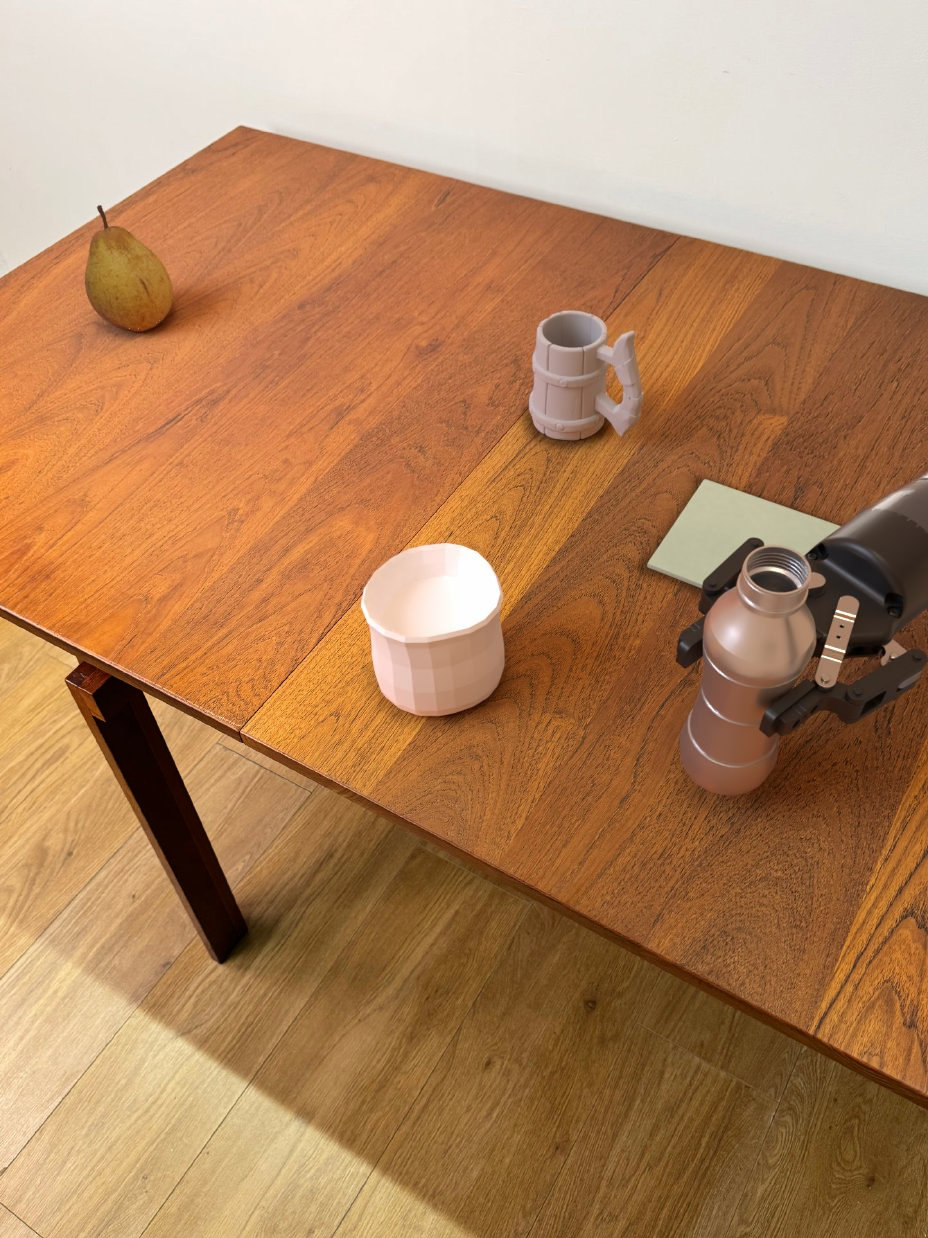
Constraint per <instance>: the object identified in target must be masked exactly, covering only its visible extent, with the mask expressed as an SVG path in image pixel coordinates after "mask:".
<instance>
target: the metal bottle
mask: <svg viewBox="0 0 928 1238" xmlns="http://www.w3.org/2000/svg"><path fill="white" fill-rule="evenodd" d="M810 580H811V568H810V565H809V563H808V561H807V560H806V559H805V558H804V557H803V556H802V555H801V554H800V553H798V552H797V551H795V550H793V549H790V548H788V547H784V546H778V545H769V546H763V547H760V548H757V549H756V550H754V551H752V552H751V553H750V554H749V555H748V556H747V558H746V560H745V561H744V564H743V568H742V572H741V573H740V575H739V577H738V580H737V584H736V587H734V588H732V589H730V590H729V591H727V592H725V593H724V594H723V595H722V596H720V597H719V598H718V600H717V601H716V602H715V604H714V605H713V606H712V608H711V609H710V611H709V612H708V614H707V616H706V619H705V622H704V630H703V657H702V672H701V673H702V674H701V679H700V680H701V681H700V688H699V692H698V693H697V696H696V699H695V702H694V705H693V707H692V709H691V710H690V712H689V713H688V715H687V716H686V719H685V721H684V724H683V725H682V728H681V731H680V733H679V740H678V742H679V752H680V753H679V754H680V761H681V764H682V767H683V769H684V771H685V773H686V774H687V775H688V777H689V778H690V779H691V780H692V781H693V782H694V783H695V784H697V785H698V786H699V787H700V788H702V789H703V790H706V791H708V792H710V793H713V794H715V795H722V796H739V795H745V794H747V793H750V792H753V791H754V790H756V789H757V788H759V787H760V786H761V785H762V784H763V783H764V782H765V781H766V780H767V778H768V777H769V775H770V774H771V773H772V771H773V769H774V768H775V766H776V764H777V760H778V757H779V748H780V735H779V734H778V733H775V734H774V735H773V736H771V737H769V738H768V737H767V736H766V735H765V734H763V733H762V732H761V731H760V730H759V727H760V724H761V720H762V717H763V715H764V713H765V712H766V711H767V709H768V708H770V707H771V706H772V705H773V704H775V703H776V702H777V701H778V700H780V699H781V698H782V697H783V696H785V695H786V694H787V693H788V692H790V691H791V690H792V689H793V688H795V685H796V684H797V682H798V680H799V679H800V677H801V675H802V674H803V672H804V671H805V669H806V668H807V666H808V664H809V663H810V660H812V659H811V657H812V655H813V653H814V649H815V646H816V628H815V622H814V618H813V616H812V614H811V612H810V610H809V608H808V606H807V605H806V603H805V601H806V598H807V595H808V586H809V583H810Z"/></svg>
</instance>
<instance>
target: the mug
mask: <svg viewBox="0 0 928 1238" xmlns="http://www.w3.org/2000/svg"><path fill="white" fill-rule="evenodd" d="M635 338H636V333H635V331H634V330H630V331H628V332H625V333H623V334H621V335H620V336H619V338H617V339H616V341H614V344H613V346H608V328H607V325H606V323H605V321H603V320H602V319H601V318H600V317H598V316H597V315H594V314H592V313H588V312H584V311H580V310H562V311H558V312H556V313H553V314H551V315H550V316H549V317H547V318H545V319H543V320H542V321H540V322H539V325H538V327H536V336H535V349H534V351H533V354H532V357H531V359H532V362H531V364H532V365H531V366H532V367H531V369H532V372H533V389H532V390H531V392H530V394H529V398H528V410H529V413H530V416H531V419H532V423H533V426H534V427H535V428H536V430H537V431H538V432H539V433H541V434H543V435H545V436H546V437H548V438H551V439H555V440H561V441H579V440H580V439H581V440H583V439H584V440H585V439H587V438H590V437H591V436H593V435H595V434H596V433H597V432H599V431H600V429H601V428H602V427H603V425H604V424H605V418H606V419H607V420H608V421H609V422H610V425H611V426H612V427H613V429H614V431H615V433H617V435H618V436H619V437H623V438H624V437H625V436H626V435H627V434H629V432H630V431H631V429H633V428H635V427H636V426H637V424H638V423H639V421H640V419H641V414H642V413H641V412H642V407H643V402H644V397H645V396H644V394H645V393H644V391H643V385H642V380H641V373H640V369H639V365H638V358H637V354H636V348H635ZM610 365H611V366H613V367H614V368H613V369H614V371H615V374H616V377H617V379H618V381H619V383H620V384H621V385H622V388H623V391H622V401H621V402H620V403H618V404H617V403H616V402H615V400H614V399H613V398H611V397H610V396H609V393H608V392H607V373H608V371H609V368H610Z"/></svg>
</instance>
